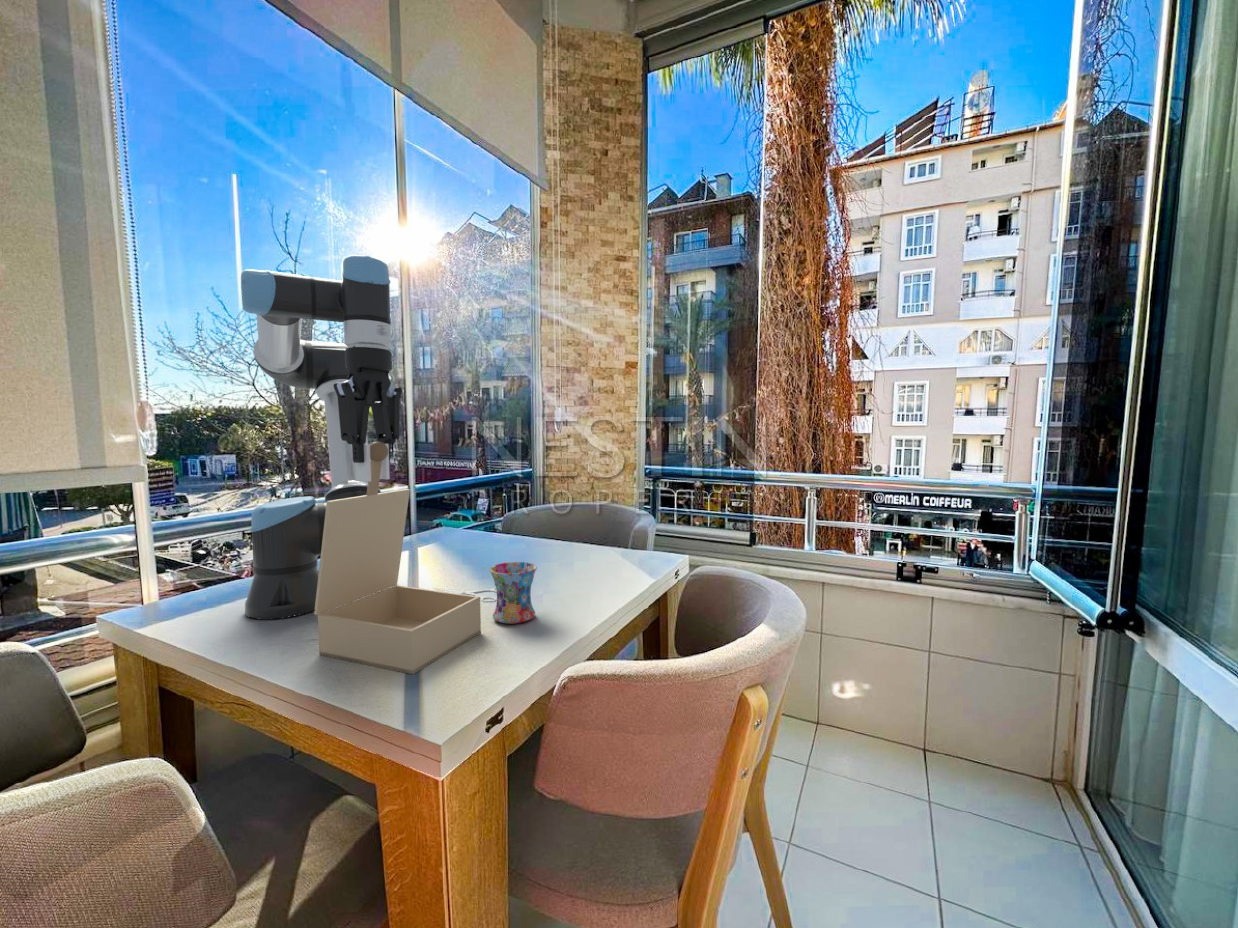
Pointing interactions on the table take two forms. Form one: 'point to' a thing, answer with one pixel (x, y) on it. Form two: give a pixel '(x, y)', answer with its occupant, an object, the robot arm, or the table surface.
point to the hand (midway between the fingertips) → (373, 479)
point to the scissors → (475, 594)
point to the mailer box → (399, 628)
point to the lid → (361, 541)
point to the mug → (513, 591)
